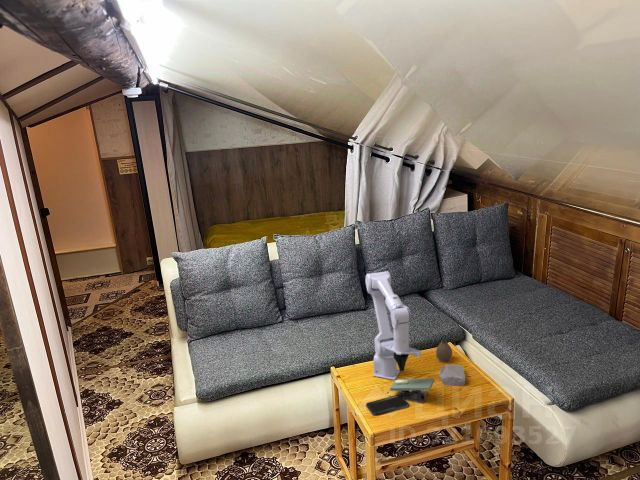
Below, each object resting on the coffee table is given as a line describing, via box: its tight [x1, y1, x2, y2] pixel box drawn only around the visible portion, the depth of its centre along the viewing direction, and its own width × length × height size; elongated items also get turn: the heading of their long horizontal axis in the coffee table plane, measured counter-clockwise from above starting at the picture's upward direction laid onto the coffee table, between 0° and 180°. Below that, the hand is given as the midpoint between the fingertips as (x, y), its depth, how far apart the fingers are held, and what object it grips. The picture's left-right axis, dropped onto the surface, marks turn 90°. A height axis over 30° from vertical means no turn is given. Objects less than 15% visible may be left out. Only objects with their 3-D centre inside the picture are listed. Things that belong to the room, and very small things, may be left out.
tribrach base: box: [397, 390, 428, 404], centre depth 178 cm, size 10×7×3 cm
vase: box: [435, 340, 453, 363], centre depth 203 cm, size 7×7×9 cm
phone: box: [365, 394, 410, 417], centre depth 174 cm, size 8×1×15 cm
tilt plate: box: [389, 377, 435, 392], centre depth 178 cm, size 16×7×3 cm, turn 62°
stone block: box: [439, 364, 466, 387], centre depth 189 cm, size 12×5×10 cm
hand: (402, 370), depth 178 cm, fingers closed
